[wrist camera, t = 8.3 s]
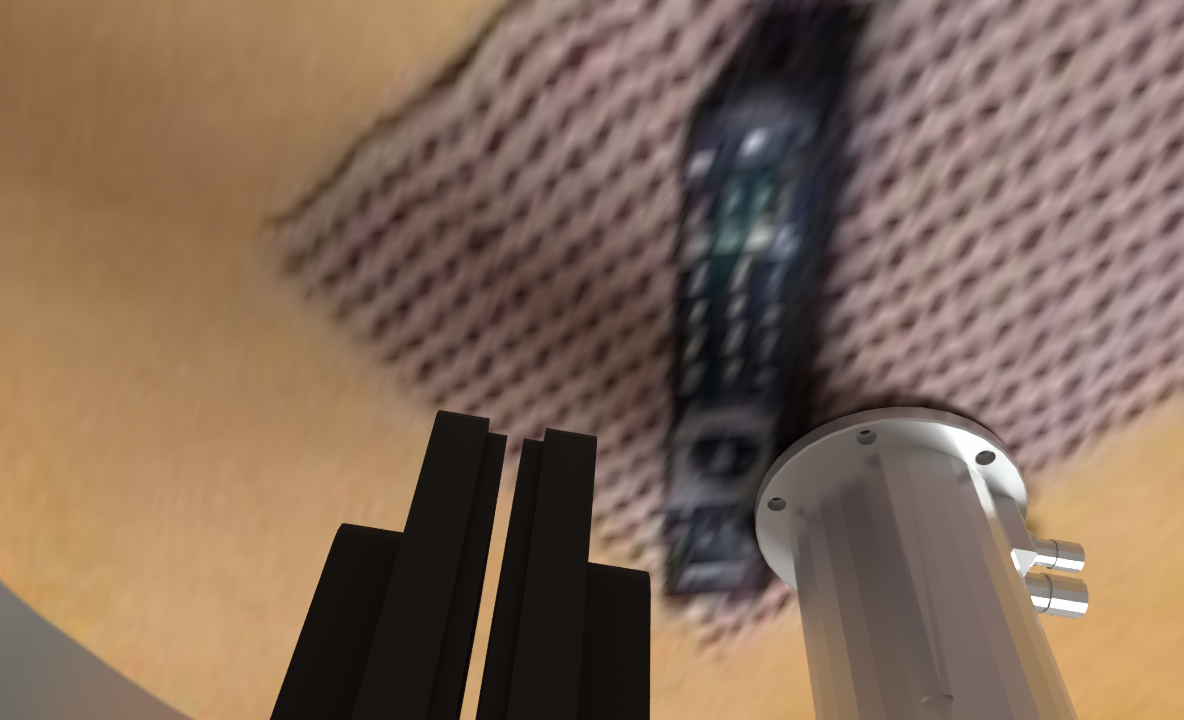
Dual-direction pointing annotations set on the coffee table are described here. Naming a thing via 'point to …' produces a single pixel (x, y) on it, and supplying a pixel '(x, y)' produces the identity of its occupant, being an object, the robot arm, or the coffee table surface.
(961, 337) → the coffee table surface
